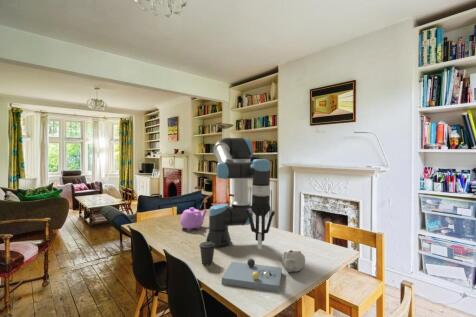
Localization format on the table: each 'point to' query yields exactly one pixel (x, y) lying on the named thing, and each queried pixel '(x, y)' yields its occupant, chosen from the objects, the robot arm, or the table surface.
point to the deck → (243, 276)
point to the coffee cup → (207, 252)
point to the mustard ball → (255, 275)
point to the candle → (293, 261)
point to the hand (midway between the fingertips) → (259, 247)
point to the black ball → (250, 262)
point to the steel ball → (266, 274)
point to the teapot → (192, 218)
